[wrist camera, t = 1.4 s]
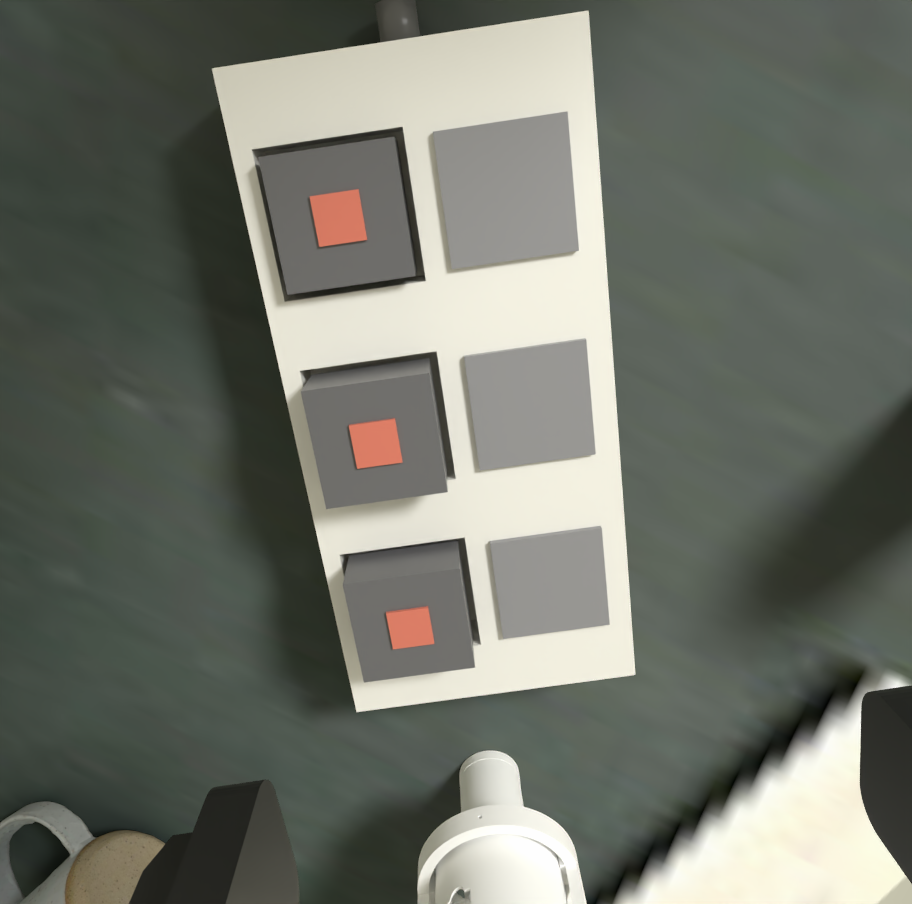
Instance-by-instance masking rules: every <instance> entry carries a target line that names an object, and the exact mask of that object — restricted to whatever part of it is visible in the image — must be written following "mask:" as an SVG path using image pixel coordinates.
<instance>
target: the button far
mask: <svg viewBox="0 0 912 904" xmlns="http://www.w3.org/2000/svg"><path fill="white" fill-rule="evenodd" d="M343 589H344V593H345V598H346V603H347V607H348V612H349V616H350V621H351V626H352V630H353V635H354V639H355V644H356V648H357V653H358V658H359V662H360V667H361V671H362V676H363V681H364V683H365V682H372V681H380V680H387V679H394V678H402V677H409V676H417V675H424V674H432V673H439V672H446V671H454V670H461V669H469V668H475V660H474V648H473V636H472V628H471V622H470V615H469V609H468V602H467V596H466V589H465V583H464V576H463V570H462V563H461V557H460V550H459V544H458V540H452V541H445V542H438V543H430V544H423V545H416V546H409V547H402V548H394V549H387V550H380V551H373V552H365V553H358V554H351V555H349V559H348V563H347V568H346V572H345V576H344V581H343Z"/></svg>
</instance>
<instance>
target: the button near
mask: <svg viewBox="0 0 912 904" xmlns="http://www.w3.org/2000/svg"><path fill="white" fill-rule="evenodd" d="M258 159H259V164H260V169H261V173H262V178H263V183H264V187H265V192H266V197H267V201H268V206H269V211H270V215H271V220H272V225H273V229H274V234H275V239H276V243H277V248H278V253H279V257H280V262H281V267H282V271H283V276H284V281H285V285H286V290H287V295H290V294H296V293H303V292H310V291H317V290H324V289H331V288H337V287H344V286H351V285H358V284H365V283H372V282H378V281H385V280H392V279H399V278H406V277H412V276H416V272H417V264H416V258H415V251H414V245H413V238H412V232H411V225H410V219H409V212H408V206H407V199H406V193H405V186H404V180H403V173H402V167H401V160H400V154H399V147H398V141H397V140H396V138H395V137H388V138H381V139H375V140H368V141H361V142H355V143H348V144H341V145H335V146H328V147H321V148H315V149H308V150H302V151H295V152H288V153H282V154H275V155H268V156H262V157H258Z"/></svg>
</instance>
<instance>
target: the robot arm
mask: <svg viewBox="0 0 912 904" xmlns="http://www.w3.org/2000/svg"><path fill="white" fill-rule="evenodd" d="M860 789H861V795H862V800H863V803H864V807H865V810H866V812H867V815H868V817H869V820H870V822H871V824H872V826H873V828H874V830H875V832H876V833H877V835H878V836H879V838H880V839H881V841H882V842H883V844H884V845H885V846H886V848H887V849H888V851H889V852H890V854H891V855H892V856H893V858H894V859H895V861H896V862H897V863H898V865H899V866H900V868H901V869H902V871H903V872H904V873H905V875H906V876H907V878H908V879H909V880H910V882H911V883H912V686H905V687H899V688H892V689H885V690H879V691H872V692H868V693H866V694H865V696H864V697H863V701H862V711H861V753H860ZM129 904H299V879H298V871H297V866H296V861H295V858H294V854H293V851H292V848H291V844H290V841H289V837H288V834H287V830H286V827H285V823H284V820H283V817H282V813H281V810H280V806H279V803H278V799H277V796H276V792H275V789H274V787H273V785H272V783H271V782H270V781H269V780H260V781H253V782H247V783H240V784H233V785H226V786H220V787H214V788H212V789H211V790H210V791H209V793H208V794H207V797H206V799H205V801H204V804H203V807H202V809H201V812H200V815H199V817H198V820H197V823H196V825H195V828H194V831H193V833H186V834H179V835H173V836H172V837H171V838H170V839H169V840H168V842H167V843H166V844H165V845H164V846H163V848H162V849H161V850H160V851H159V852H158V854H157V855H156V856H155V857H154V858H153V859H152V861H151V862H150V863H149V864H148V865H147V867H146V868H145V869H144V870H143V872H142V874H141V876H140V879H139V881H138V883H137V886H136V888H135V890H134V893H133V895H132V897H131V900H130V902H129Z"/></svg>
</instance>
